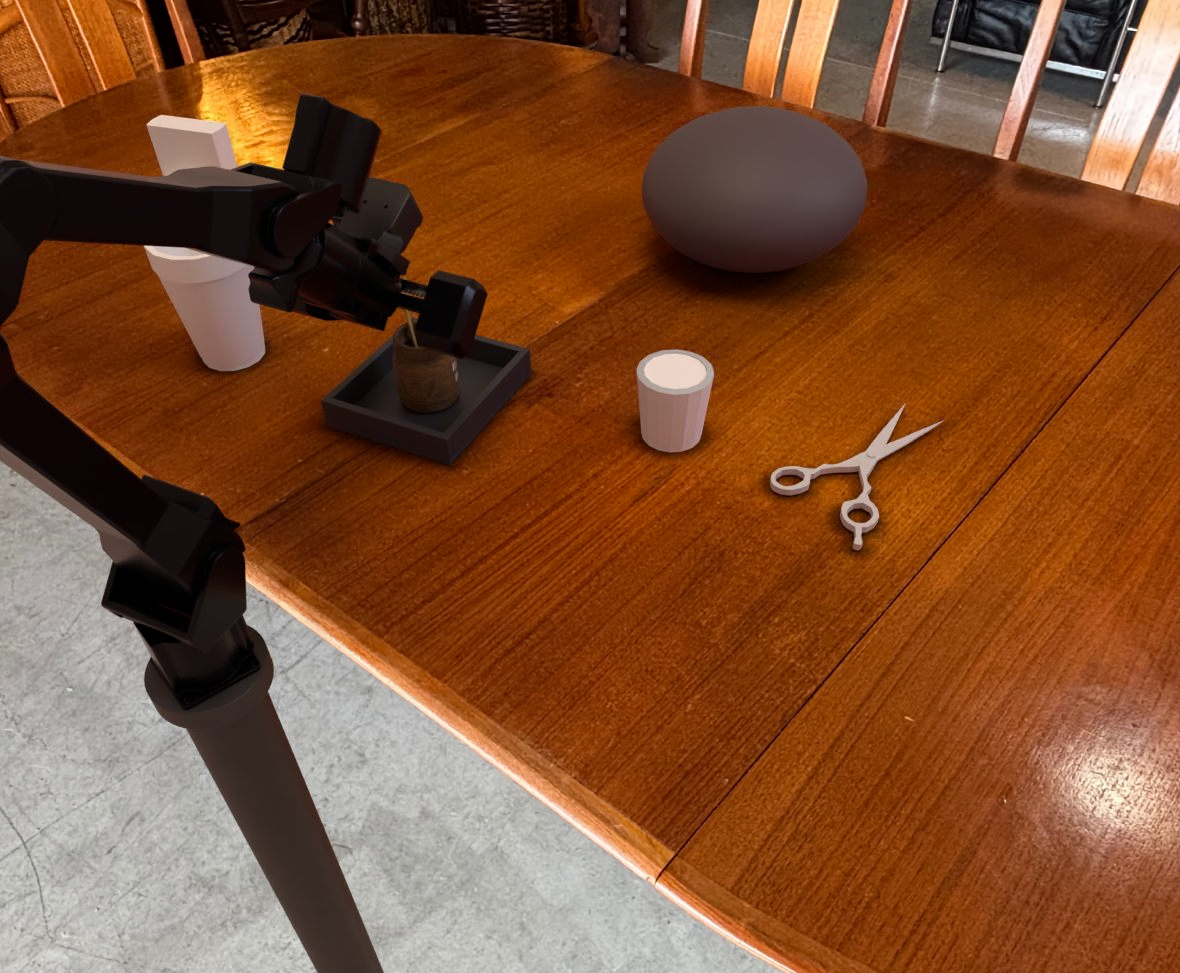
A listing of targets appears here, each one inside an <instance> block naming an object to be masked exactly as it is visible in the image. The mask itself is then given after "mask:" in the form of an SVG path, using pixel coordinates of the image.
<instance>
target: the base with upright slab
mask: <svg viewBox="0 0 1180 973" xmlns="http://www.w3.org/2000/svg"><path fill="white" fill-rule="evenodd" d="M146 128H147V131H148V134H149V138H150V141H151V144H152V146H153V149H154V153H155V155H156V159H157V162H158V165H159V168H160V171H161V174H162V176H167V175H169V174H171V173H173V172H174V171H176V170H179V169H189V168H198V167H208V166H215V167H220V168H224V169H228V170H231V169H234V168H236V167H239V166H238V162H237V159H236V156H235V152H234V148H233V144H232V140H231V137H230V134H229V129H228V126H227V123H226V122H222V121H221V122H219V121H213V120H207V119H206V120H205V119H197V118H189V117H182V116H173V115H166V114H160V115H158V116H155V117H153V118H152V119H150V120H149V121H148V122H147V123H146Z"/></svg>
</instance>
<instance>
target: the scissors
mask: <svg viewBox="0 0 1180 973" xmlns="http://www.w3.org/2000/svg"><path fill="white" fill-rule="evenodd" d="M906 404H907V402H905V403H904V404H903V405H902V407H900V409H898V411H897V412H896V413H895V414H894V415H893V417H892V418H891V419H890V420H889V421H888V423H887V424H886V425H885V426H884V427H883V428H882V429H881V431H880V432H879V433H878V434H877V436H876V437H875V438H874V440H873V441H872V442H871V444H870V445H869V446H868V448H866V450H865V451H863V452H859V453H858V454H856V455H854V456H852V457H850V458H848V459H846V460H843V461H841V462H839V463H834V464H831V463H823V464H821V465H819V466H817V467H816V468H810V467H804V466H803V467H802V466H798V465H790V466H789V465H788V466H782V467H779V468H777V469H775V470H774V471H773V472H772V473H771V475H770V481H769V486H770V489H771V490H772V491H773V492H775V493H777V494H779V495H782V496H794V495H800V494H802V493H804V492H806V491H808V490H809V488H810V484H811V480H814V479H815V478H817V477H819V476H820V475H821V476H822V475H826V474H827V475H828V474H835V473H856V472H858V477H859V481H860V486H861V489H862V490H861V491H862V492H861V493H860V495H858V496H857V498H854V499H851V500H847V501H846V500H845V501H844V502H843V503H842V505H841V508H840V511H839V512H840V513H839V518H840V522H841V524H842V526H844V528H845V529H847V530H849V531H850V532H852V533H853V539H854V540H853V544H852V549H853V550H855V551H860V550H861V549H862V548H863V544H864V542H863V539H862V534H866V533H868V532H869V531H872V530H873V529H875V527H876V525H877V524H878V522H879V519H880V513H879V509H878V507H877V506H876V505H875V503H873V502H872V501H871V500H870V497H869V495H870V494H871V491H872V486H871V485H870V483H869V481H868V478H869V476H870V475H871V473H872V472H873V470H874V469H875V466H876V465H877V463H878V461H880V460H882V459H884V458H886V457H887V456H889V455H891V454H893V453H895V452H897V451H898V450H900V449H902V448H904V447H906V446H907V445H909V444H911V443H912V442H914V441H915V440H917V439H918V438H920V437H921V436H923V435H925V434H926V433H928V432H930V431H932V430H933V429H935V428H936V427H938V426H939V425H940V424H941V423H943V422H944V421H945V419H944V420H941V421H939V422H936V423H934V424H932V425H928V426H927V427H924V428H922V429H919V430H917V431H914V432H912V433H910V434H907V435H906V436H904V437H901V438H898V439H896V440H894V441H890V442H889V443H888V441H889V440H890V438H891V436H892V433H893V432H894V429H895V427H896V425H897V424H898V421H899V418H900V416H901V414H902V412H903V411H904V410H903V409H904V408H905V406H906ZM788 475H789V476H790V475H793V476H797V477H799V478H801V479H802V481H801V480H800V482H798V483H796V484H794V485H793V484H792V485H788V486H787V485H783V484H782V483H779V482H778V481H777V479H779V478H780V477H782V476H788ZM856 509H857V510H858V509H861V510H864V511H866V512H868V513H869V515H870V517H871V518H870V519H868V520H867V521H866V522H855V521H854V520H852V519H851V518H849V516H848V514H849V513H850V512H851V511H853V510H856Z"/></svg>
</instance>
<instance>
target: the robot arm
mask: <svg viewBox="0 0 1180 973" xmlns="http://www.w3.org/2000/svg"><path fill="white" fill-rule="evenodd" d="M382 133H383V130H382V128H381V127H380V126H379V125H378V124H377V123H376V122H375V121H373V120H372V119H370V118H366V117H363V116H361V115H359V114H357V113H355V112H353V111H351V110H348V109H346V108H344V107H342V106H339V105H337V104H333V103H332V102H331V101H329V99H327V98H326V97H324V96H320V95H315V94H310V93H305V92H302V93H301V94H299V97H298V101H297V105H296V109H295V114H294V123H293V127H292V131H291V135H290V138H289V142H288V146H287V148H286V152H285V156H284V160H283V164H282V167H281V168H278V167H273V166H269V165H265V164H260V163H256V162H251V161H250V162H246V163H244V164H242V165H239V166H238V167H236V168H234V169H231V170H228V169H224V168H220V167H215V166H208V167H198V168H189V169H179V170H176V171H174V172H173V173H171V174H169V175H167V176H163V175H161V176H160V175H159V176H148V175H147V176H146V175H139V174H131V173H124V172H117V171H109V170H100V169H94V168H86V167H78V166H70V165H64V164H63V165H62V164H56V163H47V162H40V161H34V160H33V161H32V160H26V159H25V160H24V159H18V158H17V159H16V158H11V157H7V156H4V155H0V328H1V327H2V325H4V323H5V322H6V321H7V320H8V319H9V318H10V316H11V315H12V314H13V313H14V312H15V310H16V309H17V307H18V305H19V303H20V298H21V295H22V294H21V293H22V290H23V286H24V281H25V276H26V273H27V267H28V264H29V259H30V257H31V255H32V254H33V253H34V252H35V251H36V250H37V249H38V247H39V246H40V245H41V244H42V243H43V242H44V241H45V242H47V241H48V242H64V243H82V244H104V245H105V244H106V245H124V246H143V247H144V246H160V247H179V248H188V249H191V250H194V251H198V252H201V253H204V254H208V255H212V256H215V257H219V258H223V259H227V260H231V261H234V262H238V263H242V264H246V265H250V266H253V267H254V269H253V270H252V271H251V272H249V274H248V277H249V280H250V285H249V296H250V300H251V301H252V302H253V303H256V304H259V306H260V305H261V306H263V307H267V308H271V309H273V310H279V311H283V312H285V313H295V314H299V315H302V316H306V317H310V318H315V319H318V320H321V321H325V322H332V321H333V322H334V321H344V322H349V323H352V324H356V325H358V326H362V327H366V328H370V329H374V330H376V331H381V332H385V329H386V326H387V323H388V319H389V318H390V317H393V315H394V313H395V312H396V311H397V310H398V309H401V310H404V309H405V310H408V311H409V312H411V313H415V312H416V313H415V314H419V317H418V316H417V319H418V320H417V324H416V327H415V336H416V343H417V345H419V346H421V347H423V348H426V349H428V350H431V351H434V352H437V353H441V354H444V355H448V356H451V357H455V358H458V359H463V358H465V357H466V356H468V355H470V351H471V348H472V345H473V341H474V338H475V335H477V331H478V328H479V325H480V322H481V318H482V315H483V311H484V308H485V305H486V301H487V298H488V292H487V289H486V287H485V285H483V284H482V283H480V282H479V281H478V280H477V279H475V278H473V277H468V276H464V275H460V274H456V273H452V272H448V271H445V270H444V271H443V270H437V271H436V272H435V273H433V275H431V276H430V277H429V280H428V284H424V283H419V282H416V281H412V280H408V279H406V280H405V279H402V277H401V276H402V275H403V276H407V273H408V269H409V267H410V266H409V265H410V262H411V260H409V259H408V258H406V257H404V256H403V255H402V254H403V253H404V252H405V251H406V250H407V247H408V246H409V244H410V242H411V240H412V239H413V237H414V235H415V233H416V232H417V229H418V228H420V227H421V225H422V224H423V221H424V215H423V213H422V210H421V209H420V207H419V205H418V202H417V200H416V199H415V197H414V195H413V193H412V190H411V188H410V187H409V186H408V185H407V184H404V183H400V182H395V181H392V180H391V181H390V180H386V179H381V178H377V177H371V172H372V169H373V166H374V162H375V158H376V154H377V151H378V147H379V144H380V140H381V137H382ZM330 221H331V222H332V223H330ZM402 291H403V292H404V293H406V292H407V293H408V294H411V296H410V295H407V294H403V293H402ZM11 353H12V352H11V350H10V347H9V343H8V340H7V338H6V337H5V336H4V335H3V333H2V332H1V331H0V462H1V463H3V464H4V465H5V466H7V467H8V468H9V469H11V470H12V471H13V472H15V473H16V474H18V475H20V476H21V477H22V478H24V479H25V480H26V481H28V482H29V483H31V484H32V485H33V486H34V487H36V488H37V489H39V490H41V491H42V492H43V493H44V494H46V495H47V496H48V497H50V498H52V499H53V500H54V501H56V502H57V503H58V504H60V505H61V506H62V507H65V509H67V510H68V511H70V512H71V513H73V514H74V515H75V516H77V517H78V518H79V519H81V521H83V522H85V523H86V524H88V525H89V526H91V527H92V528H93V529H95V531H96V532H97V533H98V537H99V542H100V547H101V549H102V551H103V552H104V553H105V554H106V555H107V556H108V557H109V559H110V560H111V561H112V562H111V566H110V569H109V573H108V576H107V580H106V584H105V586H104V591H103V595H102V597H101V602H100V605H101V607H102V608H103V609H104V610H106V611H108V612H109V613H111V614H112V615H114V616H116V617H118V618H120V619H126V620H128V621H130V622H133V625H134V627H135V629H136V631H137V633H138V635H139V637H140V639H141V640H142V643H143V644H144V646H145V647H146V649H147V652H148V654H149V655H150V657H149V660H150V662H151V664H152V666H153V667H154V668H155V670H156V671H157V673H158V674H159V676H160V677H161V679H162V680H163V681H164V683H165V684H166V686H167V687H168V689H169V690H170V692H171V693H172V695H173V696H174V697H175V699H176V700H177V702H178V703H179V705H180V706H181V708H182V709H183V710H190V709H192V708H194V707H196V706H197V705H199V704H201V703H203V702H204V701H206V700H208V699H210V698H211V697H213V696H215V695H217V694H219V693H220V692H222V691H224V690H226V689H227V688H229V687H231V686H233V685H234V684H236V683H238V682H240V681H242V680H243V679H245V678H247V677H249V676H250V675H252V674H254V673H256V672H258V671H259V670H260V669H261V664H260V661H259V660H258V659H257V657H256V656H255V655H254V654H253V652H252V651H251V650H250V649H252V648H254V645H255V644H254V641H253V639H252V636H251V634H250V631H249V629H248V626H249V625H248V624H247V622H246V619H245V616H244V614H245V613H246V612H247V609H248V607H247V604H248V602H247V573H246V571H247V569H246V567H247V566H246V558H245V555H244V553H245V552H246V550H247V549H246V545H245V542H244V540H243V538H242V536H241V535H240V534H239V532H236V530H237V529H238V528H240V527H241V522H239V521H236V520H234V519H231V518H229V517H227V516H226V515H225V514H224V513H223V512H222V510H221V509H220V507H219V506H218V505H217V504H216V502H214V501H213V500H212V499H211V498H210V497H209V496H207V495H203V494H201V493H198V492H196V491H192V490H189V489H187V488H184V487H181V486H179V485H175V484H172V483H171V482H168V481H167V482H166V481H164V480H161V479H160V478H159V479H158V478H156V477H154V476H151V475H147V474H142V477H141V478H140V477H139V476H138V475H137V474H136V473H135V472H133V471H132V470H131V469H130V468H128V467H127V466H126V465H125V464H124V463H122V462H121V460H119V459H118V458H116V456H114V455H113V454H112V453H111V452H110V451H108V450H107V449H106V448H105V447H103V445H102V444H100V443H99V442H98V441H96V440H95V439H94V438H93V437H92V436H91V435H90V434H88V433H87V432H86V431H85V430H84V429H82V427H80V426H79V425H78V424H77V423H76V422H74V421H73V420H72V419H71V418H69V417H68V416H67V415H66V414H65V413H64V412H62V410H60V409H59V408H57V406H55V405H54V404H53V403H51V401H49V400H48V399H47V398H46V397H45V396H43V395H42V394H41V393H40V392H38V391H37V390H36V389H35V388H34V387H33V386H31V384H29V383H28V382H27V381H25V380H24V379H23V377H22V376H21V375H20V374H19V373H18V371H17V370H16V368H15V364H14V360H13V356H12V354H11ZM247 625H248V626H247ZM253 665H256V666H254V667H252V666H253ZM187 702H190V703H189V704H186V703H187Z"/></svg>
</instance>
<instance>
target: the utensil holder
mask: <svg viewBox="0 0 1180 973" xmlns="http://www.w3.org/2000/svg"><path fill="white" fill-rule="evenodd" d="M401 279H405V280H407V275H405V276H403V275H401ZM402 293H403V294H407V295H410V296H412V294H411V293H410V294H408V293H407V292H406V293H404V292H403V291H402ZM403 311H404V314H405V318H406V322H405V323H403V324H401V325H399V326H398V327H397V328H396V329H395V330H394V332H393V334H392V336H393V348H394V350H395V351H394V353H393V369H394V375H395V380H396V386H397V390H398V395H399V398H400V400H401V402H402V403H403V405H404V406H405V407H407V408H408V409H410V410H412V411H415V412H419V413H434V412H438V411H442V410H444V409H446V408H448V407H450V406H451V405H452V404H454V402H455V401H456V400H457V398H458V395H459V378H458V370H457V363H456V358H455V357H451V356H448V355H444V354H441V353H437V352H434V351H431V350H428V349H426V348H423V347H421V346H419V345H417V343H416V336H415V327H416V324H417V320H415V321H411V318H412V317H413V319H414V318H415V314H417V318H418V317H419V313H416V312H414V314H413V315H412V317H411V315H410V311H408V310H405V309H403Z"/></svg>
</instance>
